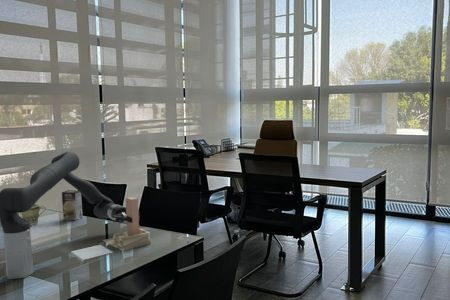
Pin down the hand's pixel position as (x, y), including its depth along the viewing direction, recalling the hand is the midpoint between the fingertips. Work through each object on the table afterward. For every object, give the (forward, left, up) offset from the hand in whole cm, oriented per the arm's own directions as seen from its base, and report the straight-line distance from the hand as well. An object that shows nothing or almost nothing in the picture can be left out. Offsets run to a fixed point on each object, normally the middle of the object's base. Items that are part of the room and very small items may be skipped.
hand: (135, 219), depth 192 cm
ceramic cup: (+58, +58, -12) cm, 83 cm away
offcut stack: (0, +7, -11) cm, 13 cm away
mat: (-7, +18, -12) cm, 23 cm away
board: (+2, +1, -11) cm, 11 cm away
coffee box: (+63, +38, -12) cm, 74 cm away
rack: (+4, +5, -12) cm, 14 cm away
